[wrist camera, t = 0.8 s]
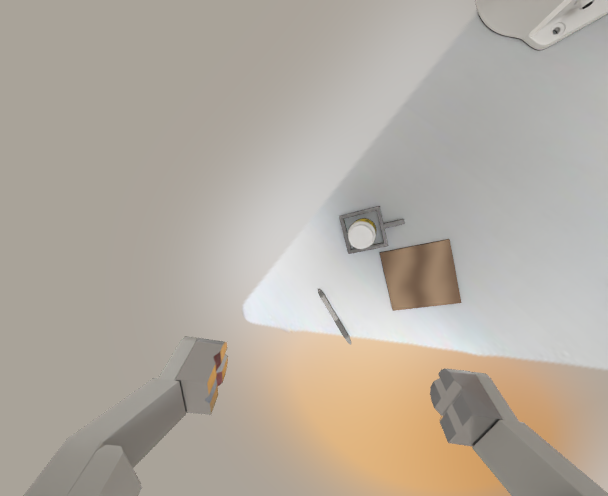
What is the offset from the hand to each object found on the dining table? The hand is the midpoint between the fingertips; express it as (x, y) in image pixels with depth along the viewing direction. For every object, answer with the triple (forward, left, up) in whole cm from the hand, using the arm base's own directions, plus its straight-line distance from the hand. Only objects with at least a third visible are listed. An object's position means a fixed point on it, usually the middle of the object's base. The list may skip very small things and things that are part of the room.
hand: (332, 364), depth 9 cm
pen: (+11, +18, -41) cm, 46 cm away
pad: (-7, +11, -40) cm, 42 cm away
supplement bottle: (+1, +1, -41) cm, 41 cm away
